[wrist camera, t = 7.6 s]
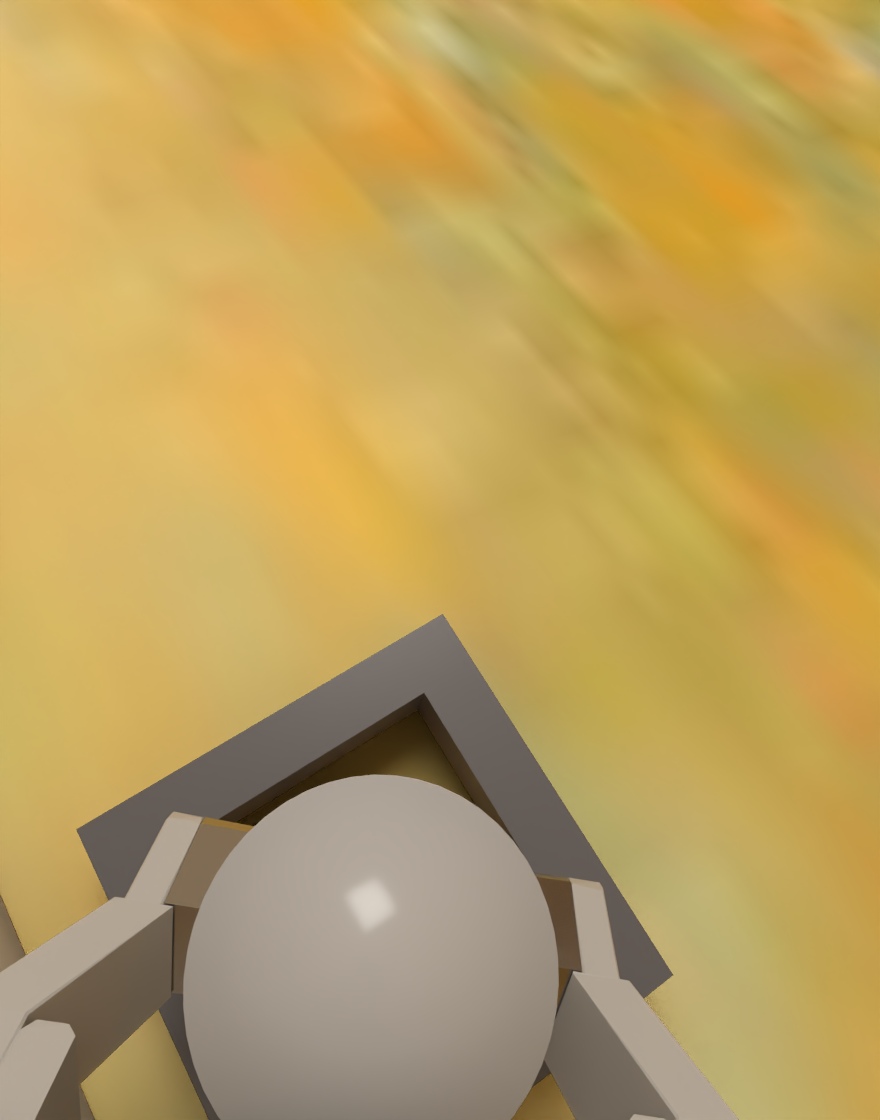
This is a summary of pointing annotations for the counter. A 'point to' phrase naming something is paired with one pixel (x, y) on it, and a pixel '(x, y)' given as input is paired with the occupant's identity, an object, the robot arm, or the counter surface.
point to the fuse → (371, 962)
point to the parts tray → (5, 950)
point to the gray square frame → (338, 728)
